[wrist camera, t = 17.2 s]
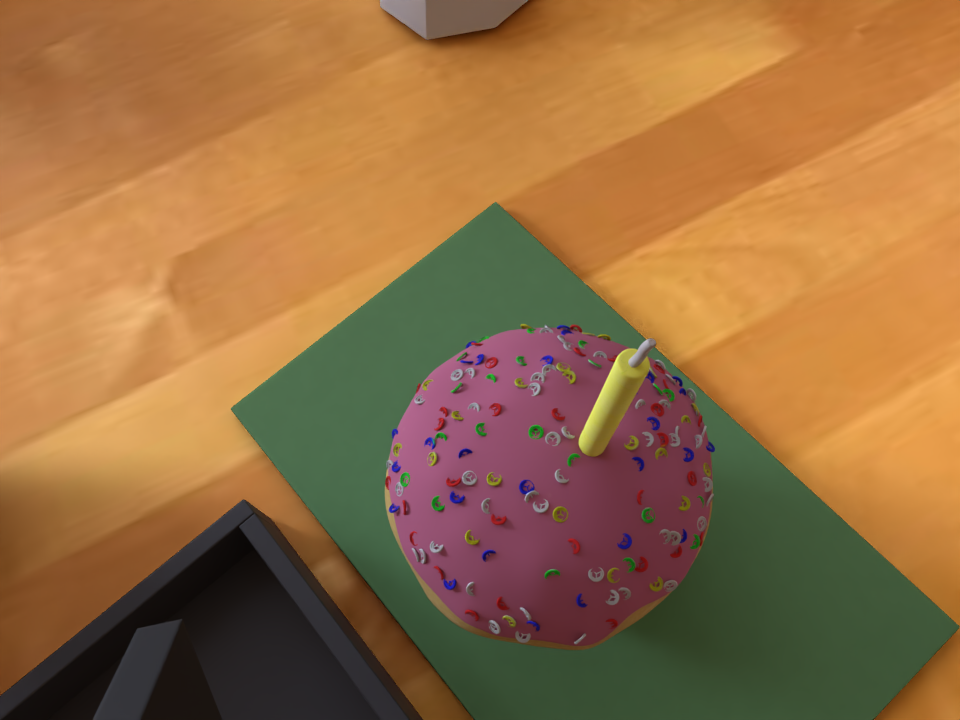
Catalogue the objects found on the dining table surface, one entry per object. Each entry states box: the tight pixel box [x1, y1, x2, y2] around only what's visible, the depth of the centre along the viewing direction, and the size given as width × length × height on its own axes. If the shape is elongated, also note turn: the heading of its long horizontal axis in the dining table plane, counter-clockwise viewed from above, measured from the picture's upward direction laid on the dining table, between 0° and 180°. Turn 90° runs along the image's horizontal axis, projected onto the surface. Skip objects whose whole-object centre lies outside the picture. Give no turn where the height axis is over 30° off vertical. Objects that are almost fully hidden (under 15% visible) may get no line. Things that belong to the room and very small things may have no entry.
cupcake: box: [385, 324, 715, 650], centre depth 21 cm, size 9×8×12 cm
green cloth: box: [231, 202, 959, 720], centre depth 26 cm, size 20×12×1 cm, turn 41°
